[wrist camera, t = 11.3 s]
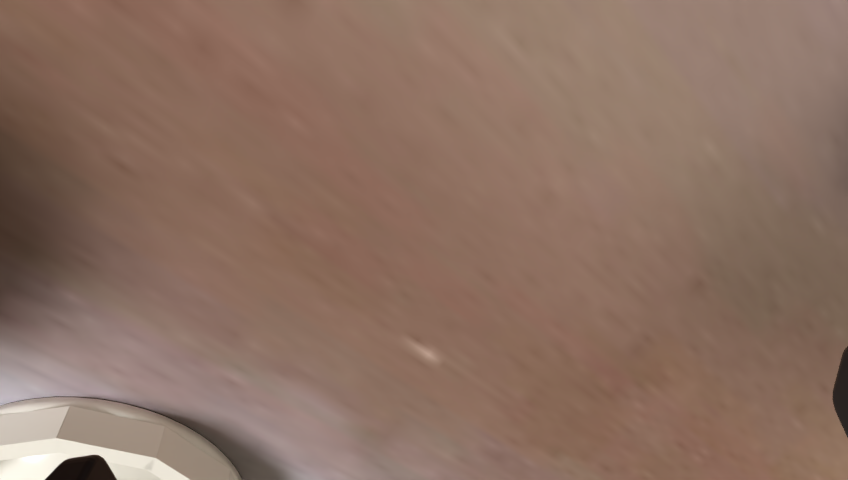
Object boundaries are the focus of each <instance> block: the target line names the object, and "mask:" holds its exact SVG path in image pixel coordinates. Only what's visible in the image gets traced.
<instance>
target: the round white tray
mask: <svg viewBox="0 0 848 480" xmlns="http://www.w3.org/2000/svg"><path fill="white" fill-rule="evenodd" d="M88 455H99V456H101V457H103V458H104V459H105V461H106V462H107V464H108V465H109V467H110V469H111V470H112V472H113V474H114V476H115V477H116V479H117V480H242V479H241V477H240V475H239V473H238V471H237V470H236V468H235V467H234V466H233V464H232V463H231V462H230V460H229V459H228V458H227V457H226V456H225V455H224V454H223V453H222V452H221V451H220V450H219V449H218V448H217V447H216V446H214V445H213V444H212V443H211V442H209V441H208V440H207V439H205V438H204V437H203V436H201V435H200V434H198V433H196V432H195V431H193V430H191V429H190V428H188V427H186V426H185V425H182V424H180V423H178V422H176V421H174V420H172V419H170V418H167V417H165V416H162V415H160V414H157V413H154V412H151V411H149V410H146V409H142V408H139V407H135V406H131V405H127V404H123V403H118V402H112V401H107V400H101V399H91V398H80V397H49V398H38V399H28V400H23V401H18V402H13V403H8V404H5V405H1V406H0V480H45V479H46V478H47V477H48V476H49V475H50V474H51V473H52V472H53V470H54V469H55V468H56V467H57V466H58V465H59V464H60V463H62V462H63V461H65V460H67V459H69V458H74V457H81V456H88Z"/></svg>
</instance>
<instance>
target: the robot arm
mask: <svg viewBox="0 0 848 480" xmlns="http://www.w3.org/2000/svg"><path fill="white" fill-rule="evenodd" d="M833 403H834V407H835V410H836V413H837V415H838V417H839V420H840V422H841V424H842V426H843V428H844V431H845V433H846V435H847V437H848V347H847V348H846V349H845V350H844V352H843V355H842V359H841V362H840V366H839V370H838V374H837V377H836V381H835V385H834V389H833ZM45 480H117V479H116V477H115V476H114V474H113V472H112V470H111V469H110V467H109V465H108V464H107V462H106V461H105V459H104V458H103V457H101V456H99V455H88V456H81V457H74V458H69V459H67V460H65V461H63V462H62V463H60V464H59V465H58V466H57V467H56V468H55V469H54V470H53V472H52V473H51V474H50V475H49V476H48V477H47V478H46V479H45Z"/></svg>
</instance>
